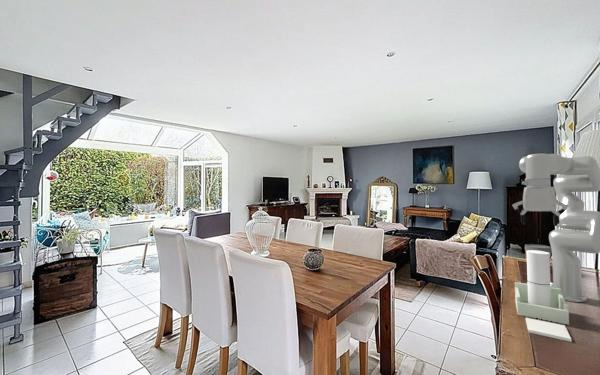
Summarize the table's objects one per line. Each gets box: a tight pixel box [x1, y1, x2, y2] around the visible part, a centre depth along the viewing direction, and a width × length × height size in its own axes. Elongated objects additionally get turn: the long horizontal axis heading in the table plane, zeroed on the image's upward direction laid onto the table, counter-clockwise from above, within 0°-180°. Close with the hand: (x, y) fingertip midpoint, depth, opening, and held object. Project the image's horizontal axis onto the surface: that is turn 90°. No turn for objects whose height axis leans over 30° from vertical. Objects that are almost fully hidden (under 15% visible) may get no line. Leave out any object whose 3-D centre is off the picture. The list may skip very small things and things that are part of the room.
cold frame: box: [514, 281, 570, 326], centre depth 111 cm, size 15×15×9 cm
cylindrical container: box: [526, 250, 551, 308], centre depth 111 cm, size 7×7×25 cm
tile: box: [525, 317, 573, 343], centre depth 97 cm, size 11×11×1 cm
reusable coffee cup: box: [524, 243, 552, 261], centre depth 168 cm, size 13×13×15 cm
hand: (539, 224), depth 110 cm, fingers open, 9 cm apart
